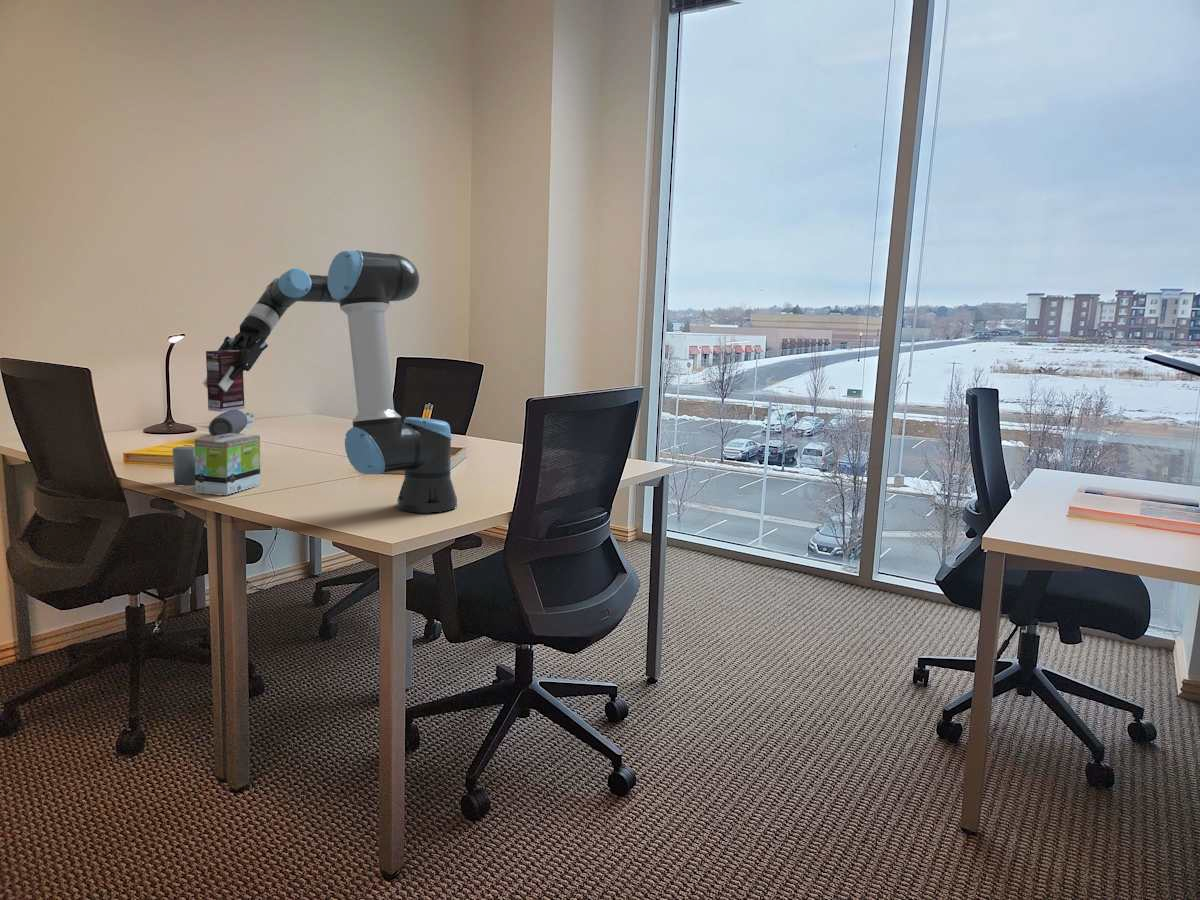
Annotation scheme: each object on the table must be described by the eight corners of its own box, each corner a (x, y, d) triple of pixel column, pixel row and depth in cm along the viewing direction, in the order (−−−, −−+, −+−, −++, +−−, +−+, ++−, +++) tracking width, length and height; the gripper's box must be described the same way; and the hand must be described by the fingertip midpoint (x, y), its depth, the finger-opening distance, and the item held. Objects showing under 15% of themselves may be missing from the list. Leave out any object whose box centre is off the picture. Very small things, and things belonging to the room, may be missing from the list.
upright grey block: (207, 482, 235) (206, 447, 234) (187, 487, 229) (185, 451, 227) (189, 479, 238) (187, 445, 236) (168, 484, 231) (166, 448, 230)
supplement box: (231, 407, 229) (229, 349, 227) (245, 408, 228) (243, 350, 225) (206, 410, 221) (204, 350, 219) (220, 412, 220) (219, 351, 217)
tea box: (228, 496, 220) (226, 441, 217) (194, 493, 222) (192, 439, 219) (262, 485, 234) (260, 433, 232) (230, 483, 236) (228, 431, 234)
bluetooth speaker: (223, 433, 320) (222, 408, 319) (249, 434, 322) (248, 408, 320) (207, 443, 298) (206, 415, 297) (234, 443, 300) (233, 416, 298)
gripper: (291, 335, 232) (248, 399, 220) (241, 332, 238) (197, 394, 226) (276, 315, 226) (232, 380, 214) (226, 313, 233) (180, 375, 220)
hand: (214, 387), depth 220 cm, fingers closed on supplement box, 5 cm apart
